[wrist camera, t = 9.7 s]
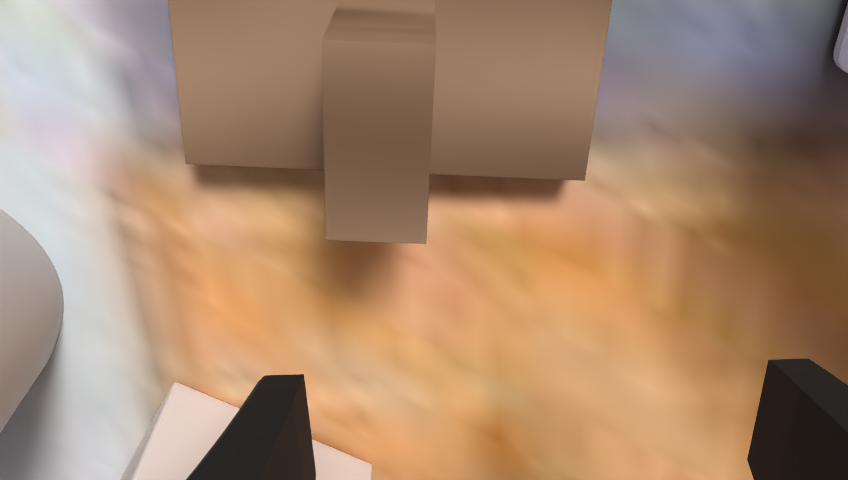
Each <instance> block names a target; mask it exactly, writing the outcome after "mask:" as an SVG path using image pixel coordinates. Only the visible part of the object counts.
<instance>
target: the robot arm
mask: <svg viewBox="0 0 848 480" xmlns="http://www.w3.org/2000/svg"><path fill="white" fill-rule="evenodd" d="M833 58H834V61H835V64H836V65H837V66H838V67H839V68H840V69H842V70H843V71H845V72H846V73H848V4H847V7H846V11H845V14H844V18H843V21H842V24H841V28H840V31H839V35H838V38H837V42H836V45H835V49H834V56H833ZM747 460H748V463H749V466H750V469H751V472H752V475H753V478H754V480H848V386H847V385H846V384H845V383H843V382H842V381H840V380H839V379H838V378H836V377H835V376H833V375H832V374H831V373H829V372H828V371H826V370H825V369H823V368H822V367H820V366H819V365H817V364H816V363H814V362H813V361H811V360H809V359H781V360H768V365H767V370H766V374H765V379H764V384H763V388H762V393H761V398H760V403H759V407H758V412H757V417H756V422H755V426H754V431H753V436H752V440H751V445H750V450H749V455H748V459H747ZM186 480H316V468H315V460H314V452H313V444H312V437H311V429H310V421H309V413H308V405H307V397H306V389H305V381H304V374H301V375H269V376H264V377H263V378H262V379H261V380H260V381H259V382H258V383H257V384H256V386H255V387H254V389H253V390H252V392H251V393H250V395H249V396H248V398H247V399H246V401H245V402H244V404H243V405H242V407H241V408H240V409H239V411H238V412H237V414H236V415H235V416H234V418H233V419H232V421H231V422H230V423H229V425H228V426H227V427H226V429H225V430H224V432H223V433H222V434H221V436H220V437H219V438H218V440H217V441H216V442H215V443H214V445H213V446H212V447H211V449H210V450H209V451H208V452H207V454H206V455H205V456H204V458H203V459H202V460H201V461H200V463H199V464H198V465H197V467H196V468H195V469H194V470H193V472H192V473H191V474H190V475H189V476H188V478H187V479H186Z"/></svg>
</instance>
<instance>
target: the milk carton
mask: <svg viewBox="0 0 848 480" xmlns="http://www.w3.org/2000/svg"><path fill="white" fill-rule="evenodd" d="M239 409H240V408H238V407H235V406H233V405H230V404H228V403H226V402H223V401H221V400H218V399H216V398H214V397H211V396H209V395H207V394H204V393H202V392H199V391H197V390H195V389H192V388H190V387H187V386H185V385H183V384H180V383H177V382H175V383H173V384H172V386H171V387H170V389H169V391H168V392H167V394H166V396H165V398H164V400H163V402H162V403H161V405H160V407H159V409H158V411H157V413H156V415H155V416H154V418H153V420H152V422H151V424H150V426H149V428H148V429H147V431H146V433H145V435H144V437H143V439H142V441H141V443H140V444H139V446H138V448H137V450H136V452H135V454H134V456H133V458H132V459H131V461H130V463H129V465H128V467H127V469H126V471H125V472H124V474H123V476H122V478H121V480H186V479H187V478H188V476H189V475H190V474H191V473H192V472H193V470H194V469H195V468H196V467H197V465H198V464H199V463H200V461H201V460H202V459H203V458H204V456H205V455H206V454H207V452H208V451H209V450H210V449H211V447H212V446H213V445H214V443H215V442H216V441H217V440H218V438H219V437H220V436H221V434H222V433H223V432H224V430H225V429H226V427H227V426H228V425H229V423H230V422H231V421H232V419H233V418H234V416H235V415H236V414H237V412H238V411H239ZM312 444H313V452H314V460H315V468H316V480H371V478H372V465H371V464H370V463H367V462H365V461H363V460H360V459H358V458H356V457H353V456H351V455H349V454H346V453H344V452H342V451H339V450H337V449H335V448H332V447H330V446H328V445H325V444H323V443H321V442H318V441H316V440H313V439H312Z"/></svg>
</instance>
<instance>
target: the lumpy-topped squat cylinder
mask: <svg viewBox="0 0 848 480" xmlns="http://www.w3.org/2000/svg"><path fill="white" fill-rule="evenodd" d="M63 306H64V302H63V291H62V286H61V283H60V280H59V277H58V274H57V272H56V270H55V267H54V265H53V264H52V262H51V260H50V258H49V257H48V255H47V254H46V252H45V251H44V249H43V248H42V246H41V245H40V244H39V243H38V242H37V240H36V239H35V238H34V237H33V236H32V235H31V234H30V233H29V232H28V231H27V230H26V229H25V228H24V227H23V226H22V225H20V224H19V223H18V222H17V221H16V220H14V219H13V218H12V217H11V216H9V215H8V214H7V213H5V212H4V211H2V210H1V209H0V432H1V431H2V429H3V428H4V427H5V425H6V424H7V422H8V421H9V419H10V418H11V416H12V415H13V413H14V412H15V410H16V409H17V407H18V406H19V404H20V403H21V401H22V400H23V398H24V397H25V395H26V394H27V392H28V391H29V389H30V388H31V386H32V385H33V383H34V382H35V380H36V379H37V377H38V376H39V374H40V373H41V371H42V370H43V368H44V367H45V365H46V364H47V362H48V361H49V359H50V357H51V355H52V353H53V350H54V348H55V345H56V342H57V339H58V336H59V332H60V328H61V324H62V318H63Z"/></svg>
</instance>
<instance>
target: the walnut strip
mask: <svg viewBox="0 0 848 480" xmlns="http://www.w3.org/2000/svg"><path fill="white" fill-rule="evenodd" d="M168 4H169V14H170V23H171V32H172V42H173V51H174V60H175V69H176V79H177V88H178V97H179V107H180V116H181V125H182V134H183V144H184V153H185V162H186V164H199V165H223V166H247V167H271V168H295V169H319V170H324V176H325V232H326V240H342V241H367V242H392V243H417V244H426V238H427V218H428V199H429V179H430V174H439V175H463V176H487V177H511V178H536V179H560V180H584V181H585V175H586V168H587V162H588V155H589V149H590V142H591V135H592V129H593V122H594V116H595V109H596V103H597V96H598V90H599V83H600V76H601V70H602V63H603V57H604V50H605V44H606V37H607V31H608V24H609V17H610V11H611V4H612V0H168Z"/></svg>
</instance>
